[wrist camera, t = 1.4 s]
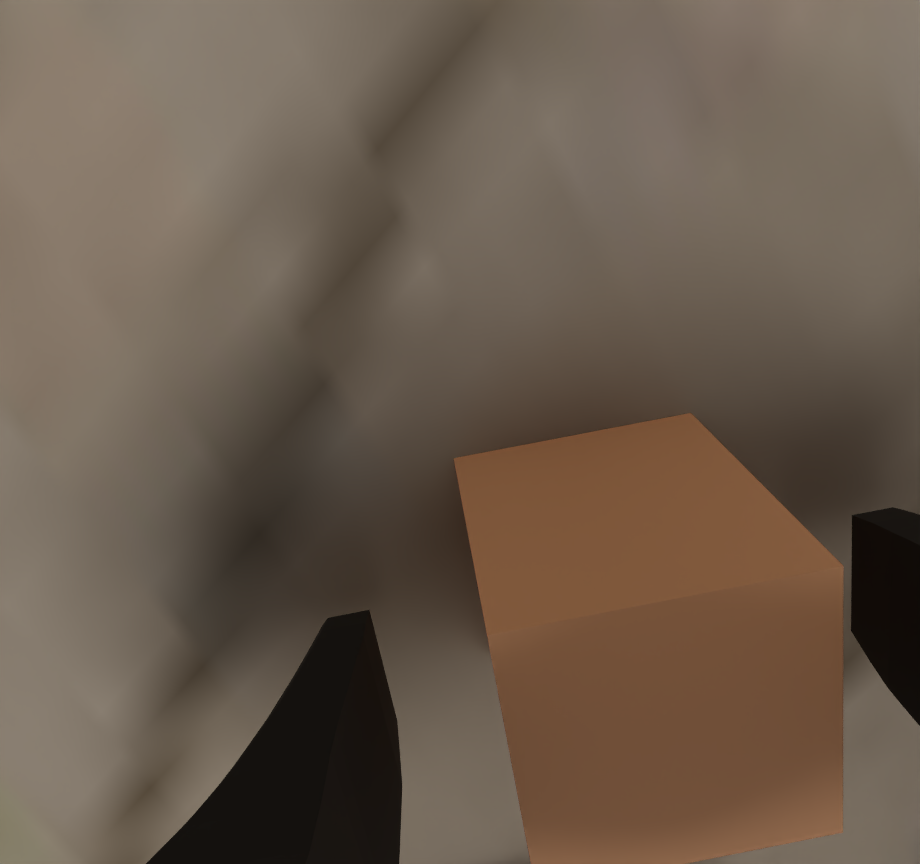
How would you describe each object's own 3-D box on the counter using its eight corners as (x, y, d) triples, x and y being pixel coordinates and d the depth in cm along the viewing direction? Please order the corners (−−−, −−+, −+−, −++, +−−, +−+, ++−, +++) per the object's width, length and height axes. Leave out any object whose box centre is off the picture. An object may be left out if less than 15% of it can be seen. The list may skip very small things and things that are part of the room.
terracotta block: (689, 411, 14) (842, 565, 9) (704, 612, 15) (842, 832, 11) (453, 457, 14) (487, 635, 9) (491, 654, 15) (536, 893, 11)
